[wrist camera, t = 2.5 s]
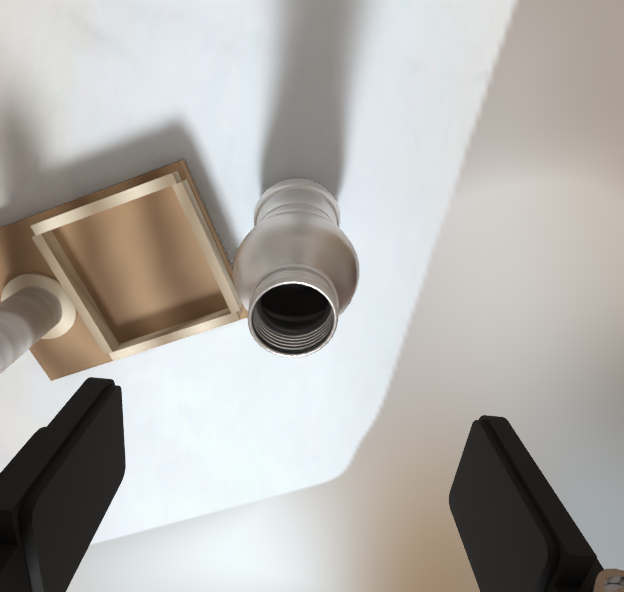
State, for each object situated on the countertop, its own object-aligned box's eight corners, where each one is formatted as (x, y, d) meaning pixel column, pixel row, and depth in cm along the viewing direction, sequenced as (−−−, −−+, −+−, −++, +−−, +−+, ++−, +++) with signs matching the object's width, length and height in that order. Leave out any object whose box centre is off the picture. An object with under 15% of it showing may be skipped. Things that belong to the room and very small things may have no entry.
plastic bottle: (250, 179, 35) (191, 256, 16) (333, 167, 35) (368, 232, 16) (264, 255, 37) (226, 395, 19) (342, 244, 37) (380, 376, 19)
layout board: (183, 159, 34) (135, 178, 24) (251, 310, 39) (233, 378, 29) (-34, 240, 36) (-160, 289, 26) (57, 373, 42) (-19, 455, 32)
